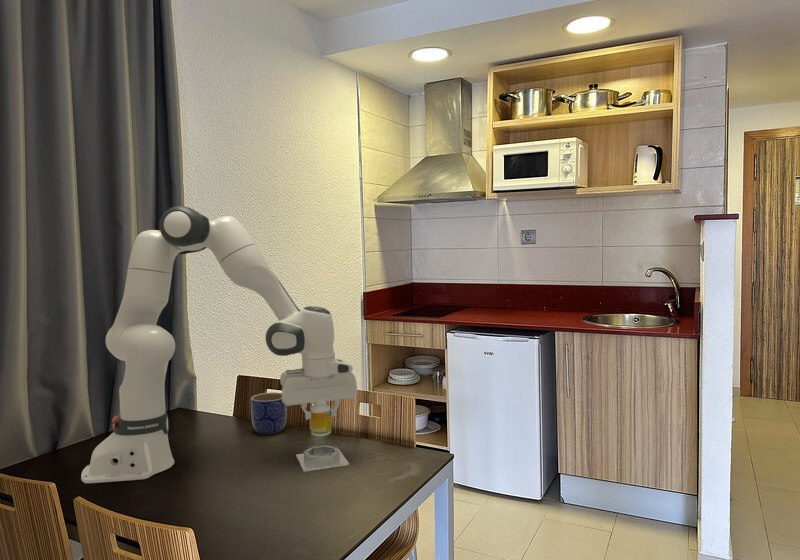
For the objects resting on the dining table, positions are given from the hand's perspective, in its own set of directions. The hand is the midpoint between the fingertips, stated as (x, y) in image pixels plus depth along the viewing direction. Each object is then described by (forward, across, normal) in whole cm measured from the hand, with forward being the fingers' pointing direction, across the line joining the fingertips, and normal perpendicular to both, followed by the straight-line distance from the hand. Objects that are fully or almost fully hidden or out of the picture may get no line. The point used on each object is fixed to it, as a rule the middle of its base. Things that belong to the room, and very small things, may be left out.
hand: (320, 417), depth 163 cm
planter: (+12, -10, +32) cm, 35 cm away
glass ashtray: (+12, 0, 0) cm, 12 cm away
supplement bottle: (+5, 0, 0) cm, 5 cm away
